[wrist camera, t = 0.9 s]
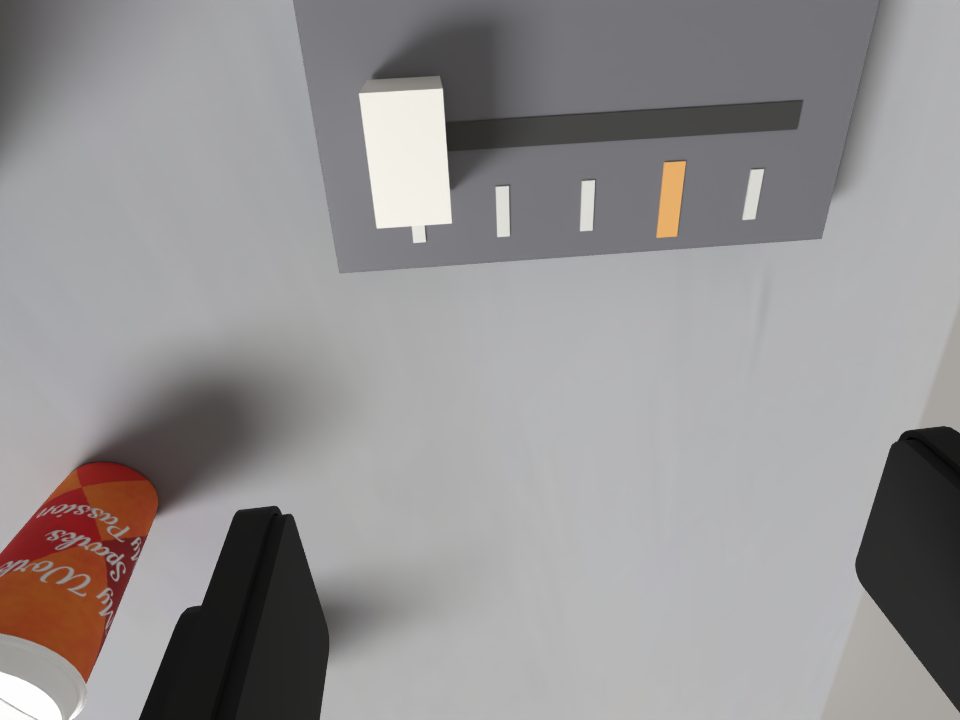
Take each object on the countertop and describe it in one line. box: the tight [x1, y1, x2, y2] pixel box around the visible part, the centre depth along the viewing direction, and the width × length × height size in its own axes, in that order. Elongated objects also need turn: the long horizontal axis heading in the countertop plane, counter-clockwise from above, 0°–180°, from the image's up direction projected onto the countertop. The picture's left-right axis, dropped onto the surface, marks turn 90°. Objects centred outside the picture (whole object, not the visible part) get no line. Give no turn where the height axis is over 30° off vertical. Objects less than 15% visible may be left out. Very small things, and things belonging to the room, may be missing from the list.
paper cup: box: [0, 462, 159, 720], centre depth 34 cm, size 8×8×14 cm
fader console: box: [293, 0, 879, 273], centre depth 29 cm, size 12×24×3 cm, turn 92°
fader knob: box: [359, 76, 452, 229], centre depth 26 cm, size 5×3×4 cm, turn 2°
